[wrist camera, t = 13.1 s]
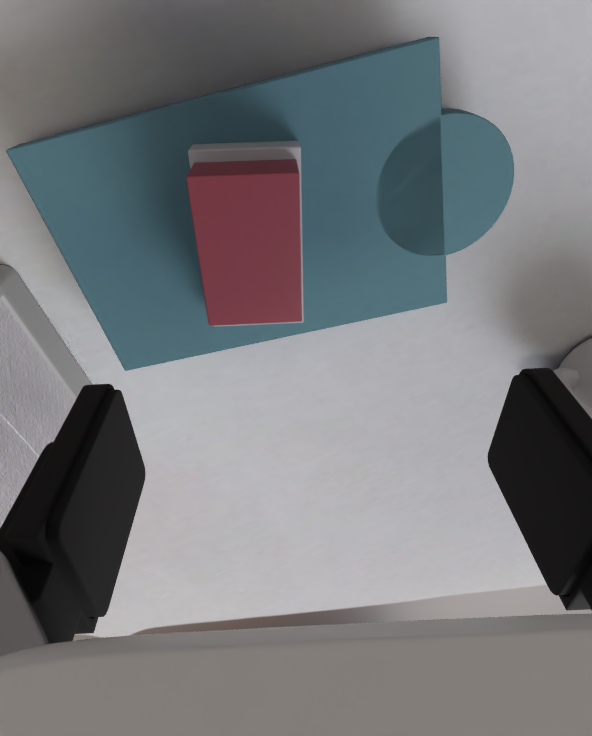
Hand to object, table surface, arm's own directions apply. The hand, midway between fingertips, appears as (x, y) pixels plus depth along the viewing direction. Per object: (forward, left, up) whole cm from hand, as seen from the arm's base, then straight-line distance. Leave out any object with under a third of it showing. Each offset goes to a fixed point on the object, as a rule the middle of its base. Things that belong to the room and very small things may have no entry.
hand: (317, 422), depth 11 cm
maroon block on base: (0, -2, -16) cm, 16 cm away
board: (0, -1, -19) cm, 19 cm away
